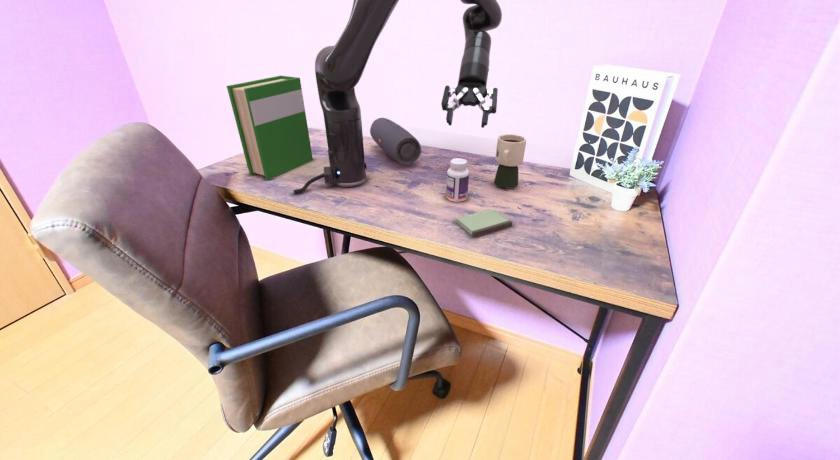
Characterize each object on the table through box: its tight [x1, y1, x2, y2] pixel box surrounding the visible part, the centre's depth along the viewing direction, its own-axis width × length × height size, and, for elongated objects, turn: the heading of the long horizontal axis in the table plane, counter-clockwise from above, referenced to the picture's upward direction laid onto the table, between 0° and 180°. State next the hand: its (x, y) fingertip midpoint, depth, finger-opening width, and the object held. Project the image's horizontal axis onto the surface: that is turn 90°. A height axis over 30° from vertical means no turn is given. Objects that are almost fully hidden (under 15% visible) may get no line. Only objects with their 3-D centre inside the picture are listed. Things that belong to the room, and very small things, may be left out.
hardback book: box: [226, 75, 314, 181], centre depth 104 cm, size 18×7×24 cm, turn 150°
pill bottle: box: [445, 157, 470, 203], centre depth 91 cm, size 5×5×10 cm
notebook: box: [455, 208, 513, 238], centre depth 82 cm, size 10×7×1 cm
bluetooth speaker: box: [369, 117, 422, 166], centre depth 115 cm, size 23×9×10 cm, turn 25°
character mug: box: [493, 133, 527, 189], centre depth 96 cm, size 11×7×13 cm, turn 152°
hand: (466, 125), depth 95 cm, fingers open, 8 cm apart
